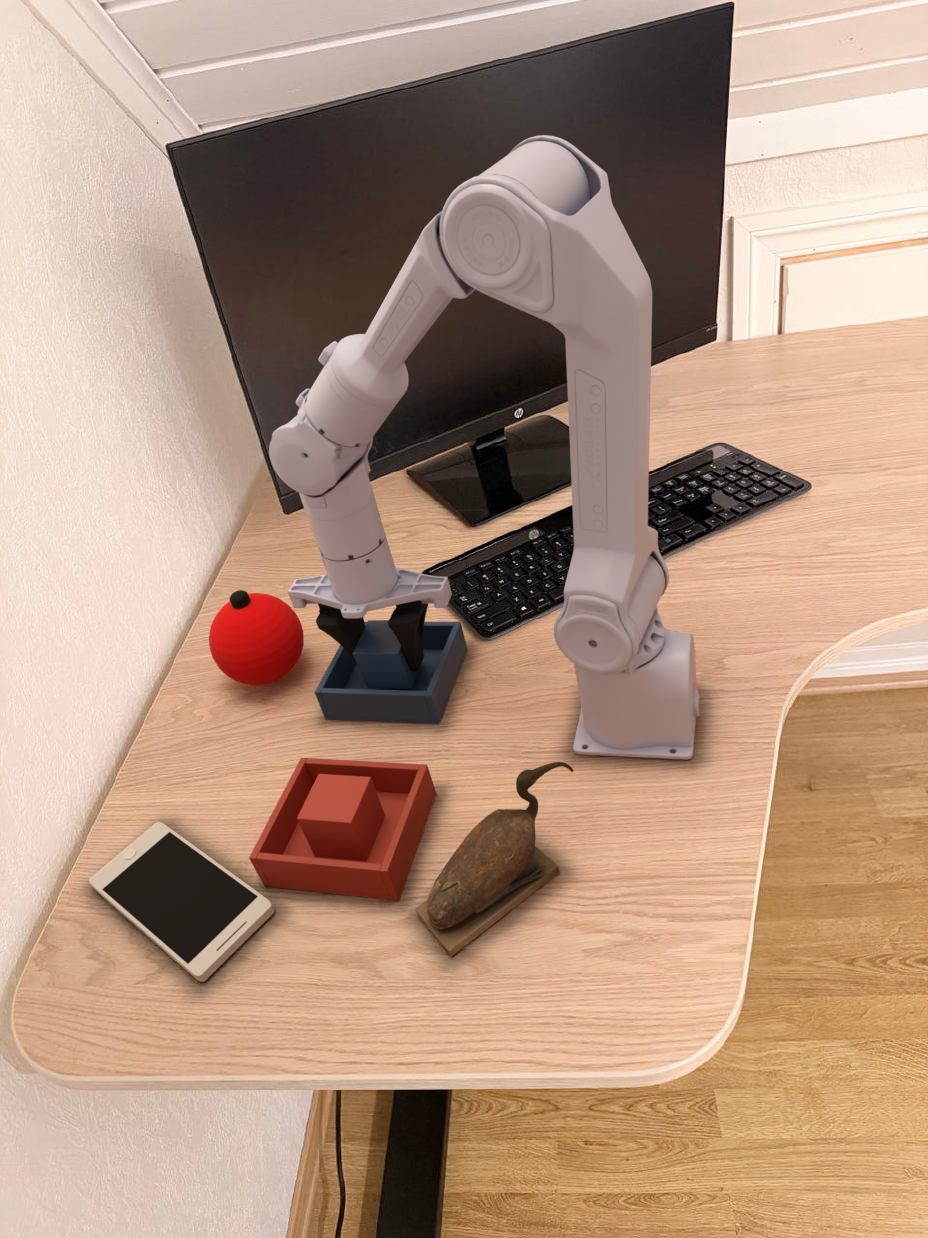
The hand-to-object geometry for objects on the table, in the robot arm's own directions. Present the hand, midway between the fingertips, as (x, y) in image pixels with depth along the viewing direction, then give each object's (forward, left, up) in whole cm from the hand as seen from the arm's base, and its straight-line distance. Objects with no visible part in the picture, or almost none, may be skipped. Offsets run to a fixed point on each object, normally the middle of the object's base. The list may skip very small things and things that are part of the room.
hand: (391, 664), depth 84 cm
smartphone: (+10, +25, -3) cm, 27 cm away
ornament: (+14, -1, -3) cm, 14 cm away
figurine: (-15, +20, -3) cm, 26 cm away
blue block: (0, 0, -1) cm, 1 cm away
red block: (-2, +18, -2) cm, 18 cm away
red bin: (-2, +18, -2) cm, 18 cm away
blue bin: (0, 0, -2) cm, 2 cm away
